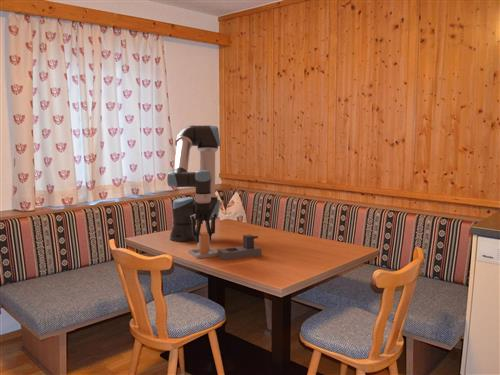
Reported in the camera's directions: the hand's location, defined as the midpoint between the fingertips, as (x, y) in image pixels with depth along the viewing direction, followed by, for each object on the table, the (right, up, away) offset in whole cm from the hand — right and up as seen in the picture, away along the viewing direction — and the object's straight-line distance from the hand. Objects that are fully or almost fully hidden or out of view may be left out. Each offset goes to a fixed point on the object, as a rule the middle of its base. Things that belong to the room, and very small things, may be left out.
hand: (203, 248), depth 229 cm
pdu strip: (+18, -4, -2) cm, 18 cm away
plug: (0, -2, 0) cm, 2 cm away
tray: (0, -3, 0) cm, 4 cm away
